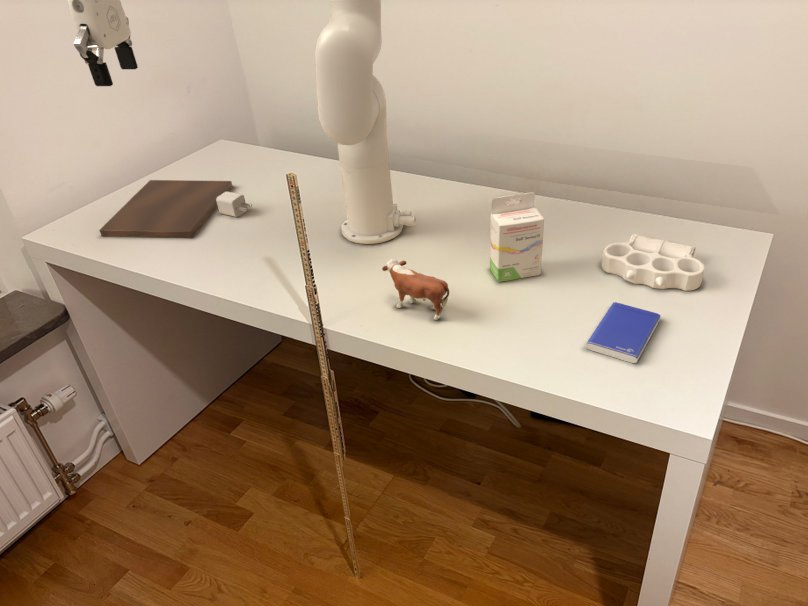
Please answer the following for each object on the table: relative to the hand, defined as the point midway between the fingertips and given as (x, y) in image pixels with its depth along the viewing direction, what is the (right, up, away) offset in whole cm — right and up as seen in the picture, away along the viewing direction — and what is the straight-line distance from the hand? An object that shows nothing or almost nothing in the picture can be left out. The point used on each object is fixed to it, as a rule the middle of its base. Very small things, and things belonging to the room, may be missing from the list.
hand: (117, 77), depth 129 cm
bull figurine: (+56, -43, -8) cm, 71 cm away
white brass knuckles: (+99, -36, -1) cm, 106 cm away
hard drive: (+90, -48, -16) cm, 104 cm away
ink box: (+74, -37, 0) cm, 83 cm away
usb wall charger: (+16, -22, +22) cm, 35 cm away
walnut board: (0, -20, +25) cm, 32 cm away
